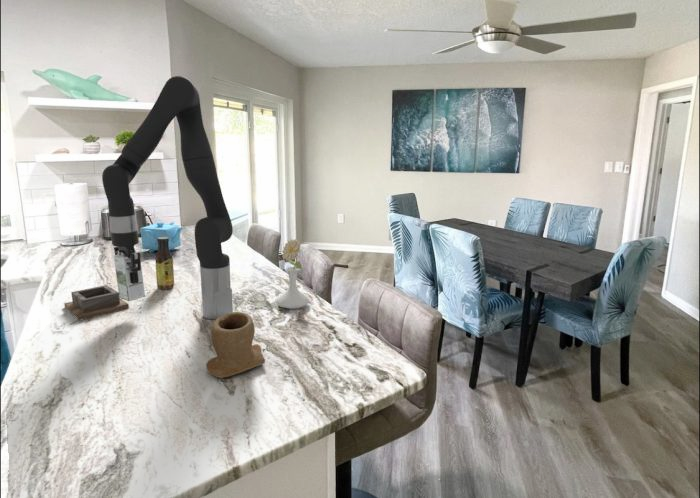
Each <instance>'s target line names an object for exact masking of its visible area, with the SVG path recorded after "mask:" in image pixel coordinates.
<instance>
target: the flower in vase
mask: <svg viewBox="0 0 700 498" xmlns="http://www.w3.org/2000/svg"><path fill="white" fill-rule="evenodd" d="M300 249H301V243H300V242H299V241H298V240H297V239H295V238H294V239H292V238H291V239H290V240H288V241H287V243H286V242H285V244H284V246H283V249H282V252H281V253H282V258H283V260H285V261H286V262H288V263H289V264H291V265H293V266H288V267H286V268H285V270H286V272H287V274H288V277H289V279H288V280H289V286H288V289H287V290H286V291H285V292H283V293H282V294H280V296H278V297H277V300H276V304H277V305H278V306H279V307H280V308H281V307H282V308H285V309H291V310H292V309H294V310H295V309H300V308H304V307H306V306H307V305H308V304H309V303H310V302H309V301H310V300H309V298H308V296H307V295H305V293H303V292H301V291H300V290H299V288H297V276H298V272H300V269H303V268H302V264H301V261H300V260H299V261H298V257H297V256H298V254H299V253H300V251H301V250H300ZM294 259H295V261H296V262H294Z"/></svg>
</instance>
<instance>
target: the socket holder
mask: <svg viewBox="0 0 700 498" xmlns="http://www.w3.org/2000/svg"><path fill="white" fill-rule="evenodd" d="M71 300H72V301H69V302H64V308H65V307H66V308H67V309H68V310H69V311H70V312H69V311H68V310H67V309H66V308H65V309H66V310H67V311H68V312H69V313H71V314H72V313H73V314H74V315H75V316H76V317H77V318H76V317H75V316H74V315H73V314H72V315H73V316H74V317H75V318H76V319H78V320H79V321H82V320H81V319H83V320H86V319H85V318H87V319H91V318H94V317H97V316H98V317H99V316H103V315H106V314H111V313H115V312H119V311H123V310H125V309H129V305H130V304H129V303H127V301H126V300H124V299H121V298H119V291H117V290H115V289H114V288H112V287H111V286H109V285H107V284H104V285H100V286H95V287H90V288H86V289H81V290H75V291H71ZM90 317H91V318H90Z"/></svg>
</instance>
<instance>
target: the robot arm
mask: <svg viewBox="0 0 700 498" xmlns="http://www.w3.org/2000/svg"><path fill="white" fill-rule="evenodd" d="M200 98H201V97H200V94H199V91H198V89H197V87H196V86H195V84H193V82H192V81H191V80H190V79H188V78H187V77H185V76H181V75H175V76H172V77H170V78H168V79H167V80H166V82H165V84H164V85H163V87H162V89H161V91H160V93H159V95H158V97H157V98H156V101H155V102H154V104H153V106H152V107H151V110H150V111H149V113H148V114H147V115H146V116H145V119H144V120H143V121H142V123H140V125H139V127H138V128H137V129H136V131H135V132H134V133H133V135H132V136H131V137H130V138H129V139H128V141H127V142H126V143H125V145H124V146H123V147H122V149H121V152H120V155H119V156H118V157H117V159H116V160H115V161H114V163H113V164H111V165H108V166H106V167H105V169H103V171H102V175H101V179H102V185H103V189H104V193H105V196H106V200H107V207H108V214H109V231H110V238H111V245H112V246H113V251H114V255H117V254H118V255H122V257H126V256H127V257H128V258H129V259H131V262H127V263H126V264H127V265H128V267H129V273H130V282H131V283H132V284H135V283H138V282H139V280H138V271H139V270H141V267H142V261H141V262H140V259H141V253H140V251H138V252H137V251H136V249H135V246H136V245H138V244H139V243H140V239H139V231H138V229H139V228H138V223H137V217H136V212H135V204H134V200H133V197H131V193H130V191H131V190H130V184H131V182H132V181H133V180H134V178H135V177H136V176H137V174H138V173H139V171H140V169H141V167H142V166H143V164H145V162H146V161H147V160H148V159H149V157H151V155H152V154H153V153H154V152H155V150H156V148H158V145H159V144H160V142H161V140H162V138H163V137H164V134H165V132H166V130H167V128H168V127H169V126H170V124H171V122H172V121H173V120H174V118H176V120H177V123H178V128H179V134H180V152H181V159H182V164H183V169H184V172H185V175H186V178H187V180H188V182H189V183H190V184H191V186H192V188H193V189H194V190H195V191H196V193H197V194H198V195H199V197H200V198H201V200H202V203H203V206H204V208H205V212H206V217H203V218H201V219H198V221H197V222H196V224H195V226H194V242H195V243H194V244H195V252H196V257H197V258H198V261H199V268H200V270H199V271H200V287H201V290H200V291H201V303H202V304H201V307H202V316H203V318H205V319H207V320H208V319H209V320H214V321H215V320H216V319H217V318H219V317H221V316H224V315H225V314H227V313H231V312H234V308H233V307H234V305H233V289H232V288H231V264H230V263H231V262H230V256H229V255H228V254H226V253H223V249H222V248H223V247H222V243H225V242H227V241H229V240H230V239H231V238H232V236H233V231H234V230H233V228H234V227H233V223H232V220H231V217H230V214H229V210H228V209H227V206H226V203H225V200H224V196H223V192H222V188H221V184H220V181H219V177H218V173H217V167H216V164H215V159H214V154H213V151H212V148H211V144H210V141H209V138H208V136H207V132H206V130H205V126H204V121H203V115H202V110H201V109H202V107H201V99H200ZM137 265H138V266H137ZM134 266H135V268H134Z"/></svg>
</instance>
